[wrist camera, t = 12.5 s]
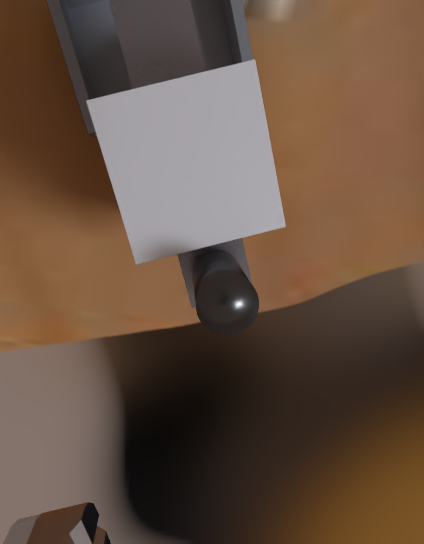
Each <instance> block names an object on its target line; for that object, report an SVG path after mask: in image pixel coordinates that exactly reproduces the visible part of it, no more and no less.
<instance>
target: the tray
mask: <svg viewBox="0 0 424 544" xmlns="http://www.w3.org/2000/svg"><path fill="white" fill-rule="evenodd" d="M46 1H47V4H48V7H49V10H50V13H51V17H52V20H53V23H54V26H55V29H56V33H57V36H58V39H59V42H60V45H61V49H62V52H63V55H64V58H65V61H66V65H67V68H68V71H69V74H70V77H71V81H72V84H73V87H74V90H75V93H76V97H77V100H78V103H79V106H80V109H81V113H82V116H83V119H84V122H85V125H86V129H87V132H88V134H90V135H93V136H96V137H97V135H96V131H95V128H94V125H93V121H92V118H91V115H90V112H89V108H88V105H87V102H86V101H87V100H91V99H95V98H99V97H103V96H107V95H111V94H115V93H119V92H123V91H127V90H132V86H131V82H130V78H129V75H128V71H127V67H126V64H125V60H124V56H123V53H122V49H121V45H120V41H119V38H118V34H117V30H116V27H115V23H114V19H113V16H112V12H111V8H110V5H109V1H108V0H46ZM190 2H191V7H192V11H193V16H194V21H195V25H196V30H197V34H198V39H199V44H200V48H201V53H202V57H203V62H204V66H205V71H209V70H213V69H218V68H222V67H226V66H230V65H234V64H238V63H242V62H246V61H250V60H253V57H252V52H251V46H250V41H249V36H248V30H247V25H246V19H245V14H244V8H243V3H242V0H190Z"/></svg>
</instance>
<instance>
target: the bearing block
mask: <svg viewBox="0 0 424 544" xmlns="http://www.w3.org/2000/svg"><path fill="white" fill-rule="evenodd" d="M86 102H87V105H88V108H89V112H90V115H91V118H92V121H93V125H94V128H95V131H96V135H97V138H98V141H99V144H100V148H101V151H102V154H103V157H104V161H105V164H106V167H107V170H108V174H109V177H110V180H111V183H112V187H113V190H114V193H115V196H116V200H117V203H118V206H119V209H120V213H121V216H122V219H123V223H124V226H125V229H126V232H127V236H128V239H129V242H130V245H131V249H132V252H133V255H134V258H135V262H136V264H140V263H144V262H148V261H152V260H156V259H160V258H164V257H168V256H172V255H176V254H180V253H184V252H187V251H191V250H195V249H199V248H203V247H207V246H211V245H215V244H219V243H223V242H227V241H231V240H235V239H239V238H243V237H247V236H251V235H255V234H259V233H263V232H267V231H271V230H275V229H279V228H283V227H286V225H285V220H284V214H283V209H282V203H281V198H280V193H279V187H278V182H277V176H276V171H275V165H274V160H273V154H272V149H271V143H270V138H269V132H268V127H267V121H266V116H265V111H264V105H263V100H262V94H261V89H260V83H259V78H258V72H257V67H256V61H255V59H254V60H250V61H246V62H242V63H238V64H234V65H230V66H226V67H222V68H218V69H213V70H209V71H205V72H201V73H197V74H193V75H189V76H185V77H181V78H177V79H173V80H168V81H164V82H160V83H156V84H152V85H148V86H144V87H140V88H136V89H132V90H127V91H123V92H119V93H115V94H111V95H107V96H103V97H99V98H95V99H91V100H87V101H86Z"/></svg>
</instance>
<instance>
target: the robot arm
mask: <svg viewBox="0 0 424 544" xmlns="http://www.w3.org/2000/svg"><path fill="white" fill-rule="evenodd" d="M98 518H99V513H98V511H97V509H96V507H95V505H94V503H91V502H87V503H83V504H79V505H74V506H71V507H67V508H62V509H58V510H54V511H49V512H45V513H42V514H40V515H35V516H31V517H26V518H22V519H18V520H17V521H16V522H15V523H14V524H13V525H12V526H11V528H10V530H9V532H8V534H7V537H6V538H5V541H4V543H3V544H111V543H110V539H109V537H108V534H107V532H106V531H105V530H104V529H102V528H100V527H98V526H97V524H98Z"/></svg>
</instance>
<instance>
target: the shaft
mask: <svg viewBox="0 0 424 544" xmlns="http://www.w3.org/2000/svg"><path fill="white" fill-rule="evenodd" d="M108 1H109V5H110V8H111V12H112V16H113V19H114V23H115V27H116V30H117V34H118V38H119V41H120V45H121V49H122V53H123V56H124V60H125V64H126V67H127V71H128V75H129V78H130V82H131V86H132V89H136V88H140V87H144V86H148V85H152V84H156V83H160V82H164V81H168V80H173V79H177V78H181V77H185V76H189V75H193V74H197V73H201V72H205V66H204V62H203V57H202V53H201V48H200V44H199V39H198V34H197V30H196V25H195V21H194V16H193V11H192V7H191V2H190V0H108ZM177 255H178V258H179V262H180V266H181V269H182V273H183V277H184V280H185V284H186V288H187V291H188V295H189V299H190V302H191V306H192V308H194V307H196V310H197V315H198V317H199V319H200V321H201V323H202V324H203V325H204V326H205V327H206V328H207V329H209V330H210V331H212V332H214V333H217V334H222V335H231V334H235V333H239V332H241V331H243V330H244V329H246V328H247V327H248V326H249V325H250V324H251V323H252V322H253V321H254V319H255V318H256V315H257V313H258V309H259V298H258V295H257V292H256V290H255V289H254V287H253V285H252V281H251V277H250V272H249V268H248V263H247V259H246V254H245V249H244V245H243V240H242V238H239V239H235V240H231V241H227V242H223V243H219V244H215V245H211V246H207V247H203V248H199V249H195V250H191V251H187V252H184V253H180V254H177Z"/></svg>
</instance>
